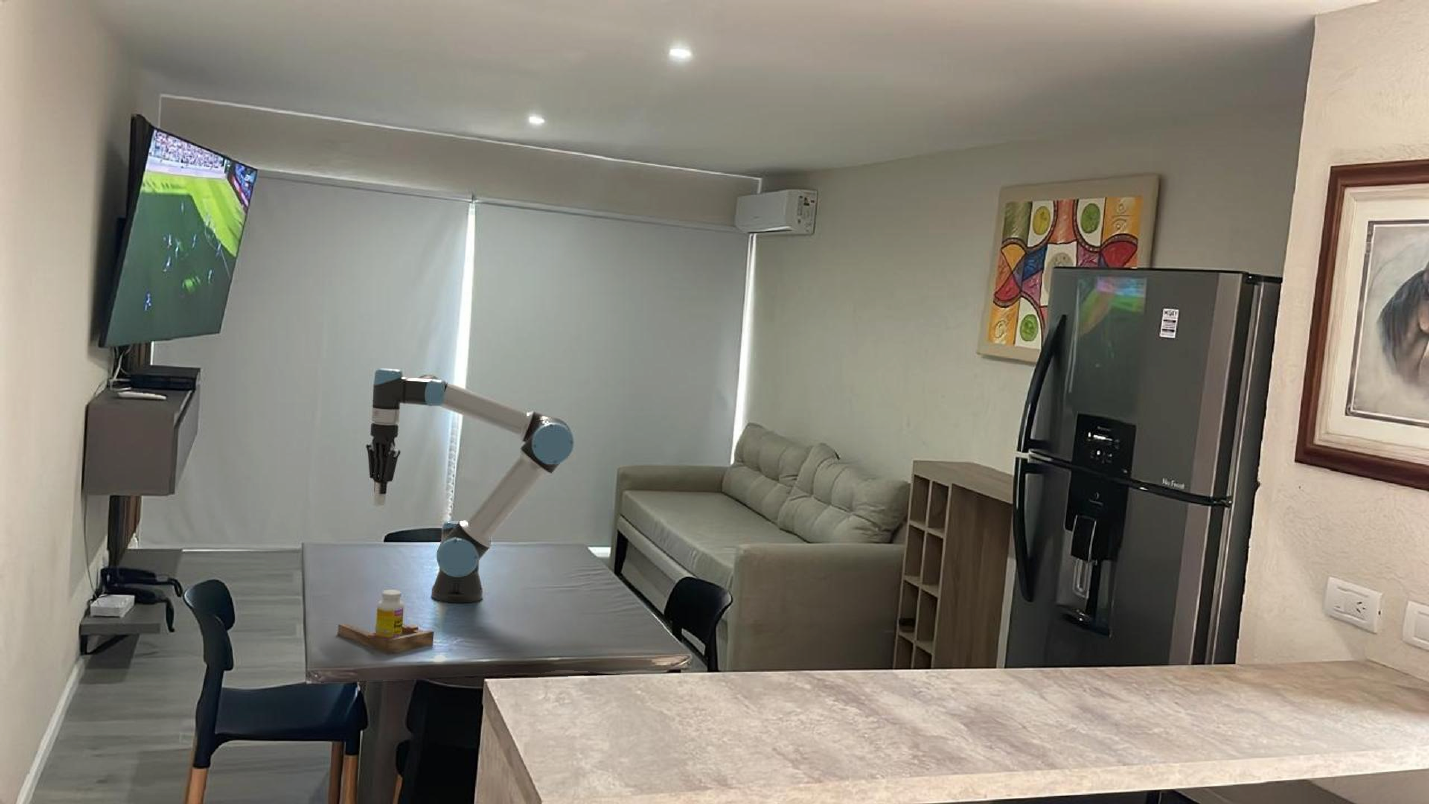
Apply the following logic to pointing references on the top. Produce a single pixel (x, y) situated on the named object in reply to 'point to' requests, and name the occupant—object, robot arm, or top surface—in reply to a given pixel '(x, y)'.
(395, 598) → the supplement bottle
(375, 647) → the wooden frame
